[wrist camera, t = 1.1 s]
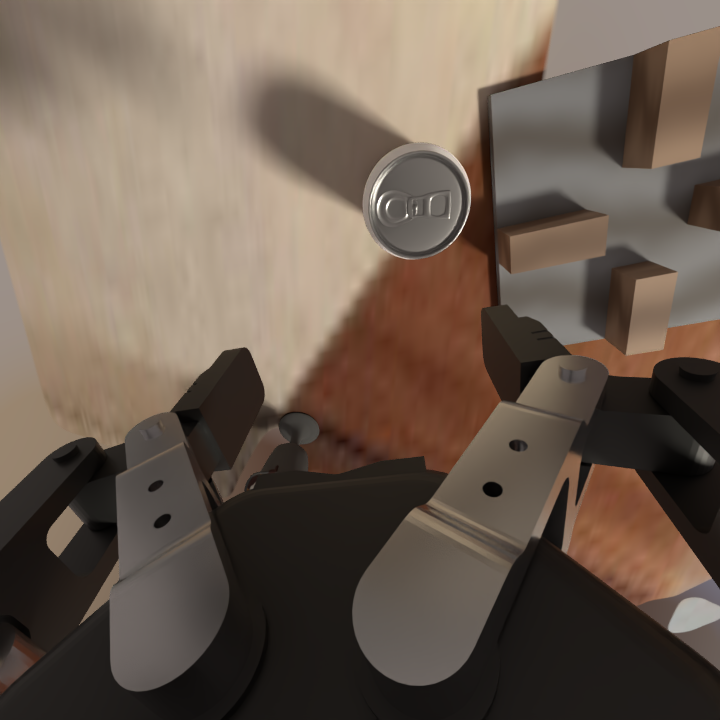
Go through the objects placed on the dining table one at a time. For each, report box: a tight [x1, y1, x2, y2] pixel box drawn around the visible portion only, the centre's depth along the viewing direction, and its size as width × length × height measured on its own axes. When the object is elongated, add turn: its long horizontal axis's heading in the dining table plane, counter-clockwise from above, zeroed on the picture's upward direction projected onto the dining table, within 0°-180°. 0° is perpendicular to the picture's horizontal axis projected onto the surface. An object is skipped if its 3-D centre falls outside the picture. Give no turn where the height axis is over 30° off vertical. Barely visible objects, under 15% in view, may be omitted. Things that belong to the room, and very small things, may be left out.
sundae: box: [244, 413, 319, 491], centre depth 37 cm, size 7×7×15 cm
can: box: [363, 143, 471, 259], centre depth 25 cm, size 6×6×12 cm
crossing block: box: [488, 26, 720, 356], centre depth 28 cm, size 22×22×4 cm
